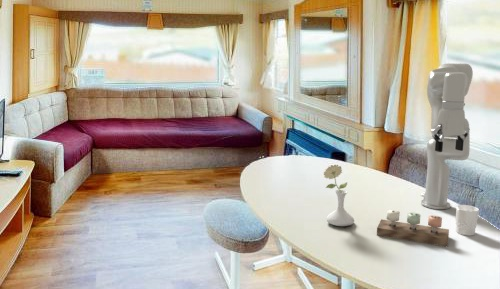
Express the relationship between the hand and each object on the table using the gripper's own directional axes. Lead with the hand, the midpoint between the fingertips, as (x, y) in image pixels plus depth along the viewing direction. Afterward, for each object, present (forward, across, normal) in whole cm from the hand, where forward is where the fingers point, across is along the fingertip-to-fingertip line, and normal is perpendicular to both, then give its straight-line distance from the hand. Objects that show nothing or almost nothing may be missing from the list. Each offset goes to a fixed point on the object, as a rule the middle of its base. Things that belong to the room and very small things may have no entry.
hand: (448, 150), depth 167 cm
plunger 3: (+30, +9, +6) cm, 32 cm away
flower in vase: (+32, +35, -20) cm, 52 cm away
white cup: (+32, -8, +4) cm, 34 cm away
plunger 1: (+30, +20, -4) cm, 36 cm away
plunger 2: (+30, +15, +1) cm, 33 cm away
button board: (+32, +15, +1) cm, 35 cm away
